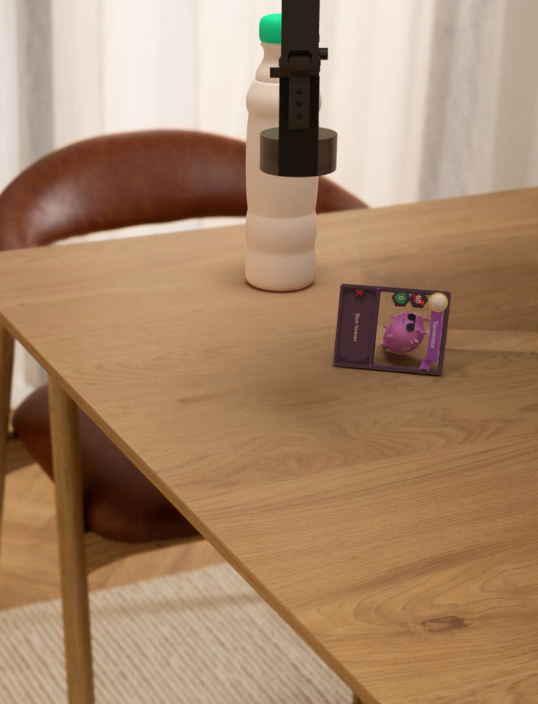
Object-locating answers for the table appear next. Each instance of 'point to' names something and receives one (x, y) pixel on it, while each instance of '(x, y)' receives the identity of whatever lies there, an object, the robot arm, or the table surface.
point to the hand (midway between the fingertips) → (298, 164)
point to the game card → (389, 327)
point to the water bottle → (275, 189)
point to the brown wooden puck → (325, 151)
